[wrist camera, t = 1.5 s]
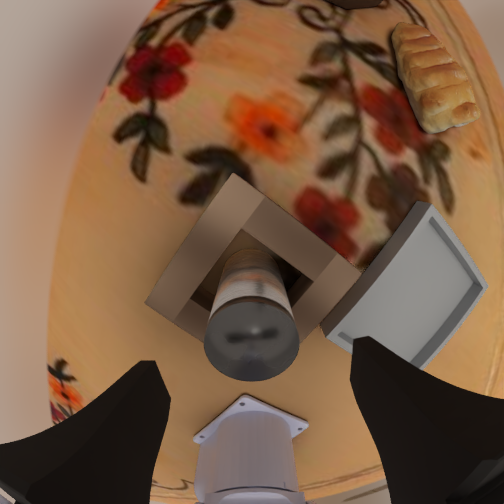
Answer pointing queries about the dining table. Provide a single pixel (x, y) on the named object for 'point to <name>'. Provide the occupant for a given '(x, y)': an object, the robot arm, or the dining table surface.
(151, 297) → the eye block
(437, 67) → the pastry
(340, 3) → the beer bottle
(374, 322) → the tray
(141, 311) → the dining table surface
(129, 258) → the dining table surface
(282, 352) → the steel pin
